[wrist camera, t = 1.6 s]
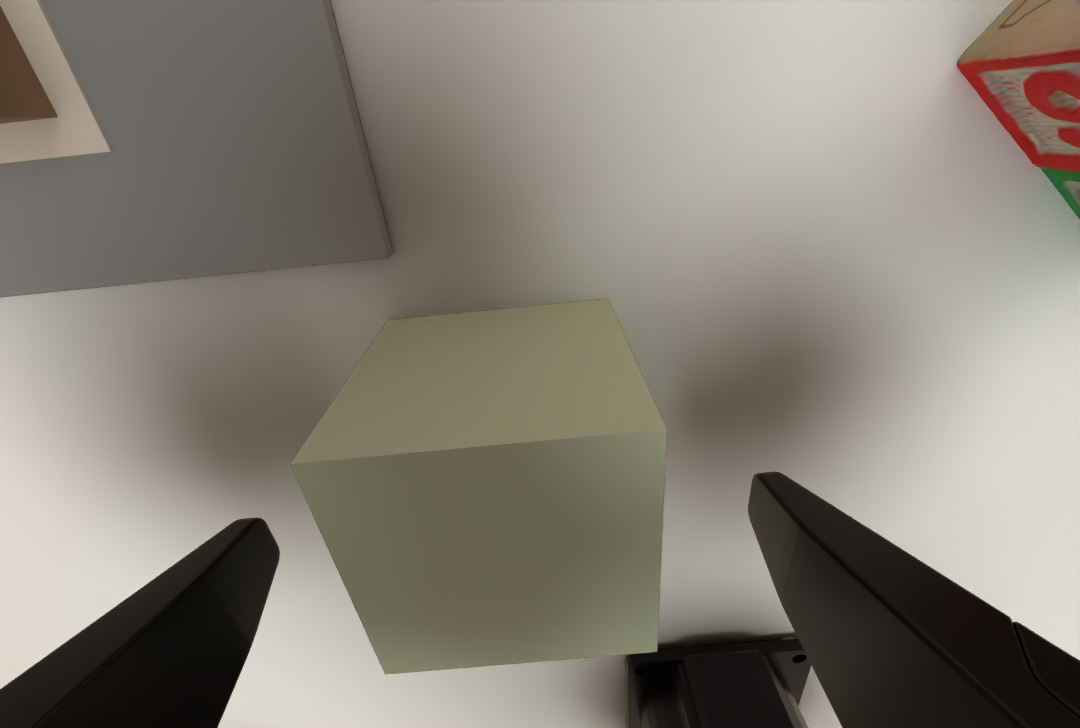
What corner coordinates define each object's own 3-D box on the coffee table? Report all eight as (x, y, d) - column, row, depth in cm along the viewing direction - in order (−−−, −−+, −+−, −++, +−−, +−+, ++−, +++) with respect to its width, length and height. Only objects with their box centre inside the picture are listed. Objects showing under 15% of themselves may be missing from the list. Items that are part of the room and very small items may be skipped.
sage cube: (611, 467, 13) (657, 652, 8) (433, 483, 13) (385, 674, 8) (607, 297, 10) (667, 429, 6) (388, 318, 11) (289, 464, 6)
